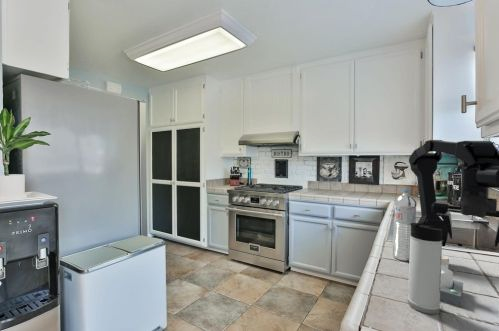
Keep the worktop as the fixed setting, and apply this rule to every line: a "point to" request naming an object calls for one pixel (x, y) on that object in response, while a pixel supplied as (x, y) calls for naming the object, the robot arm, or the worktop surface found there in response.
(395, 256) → the water bottle
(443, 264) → the pepper shaker
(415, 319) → the worktop surface
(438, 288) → the travel mug
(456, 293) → the socket dock
